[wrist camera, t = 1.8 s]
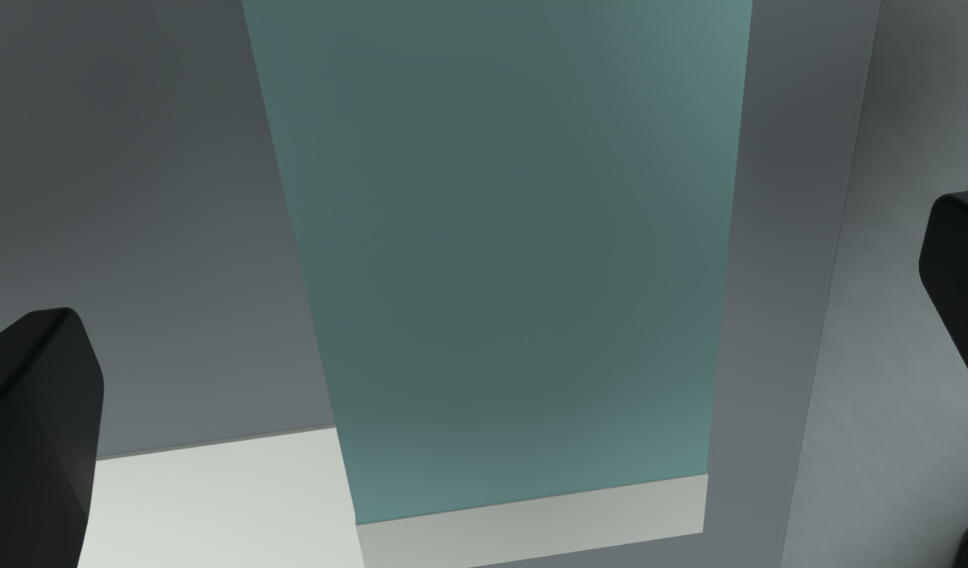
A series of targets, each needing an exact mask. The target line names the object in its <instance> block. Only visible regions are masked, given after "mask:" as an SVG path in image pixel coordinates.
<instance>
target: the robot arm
mask: <svg viewBox="0 0 968 568" xmlns="http://www.w3.org/2000/svg"><path fill="white" fill-rule="evenodd" d="M919 273H920V277H921V281H922V283H923V285H924V287H925V289H926V291H927V293H928V295H929V297H930V299H931V300H932V302H933V304H934V306H935V308H936V310H937V312H938V314H939V315H940V317H941V319H942V321H943V323H944V325H945V327H946V329H947V331H948V332H949V334H950V336H951V338H952V340H953V342H954V344H955V346H956V347H957V349H958V351H959V353H960V355H961V357H962V359H963V361H964V363H965V364H966V366H967V368H968V191H964V192H956V193H948V194H944V195H942V196H940V197H939V198H938V199H936V201H935V202H934V204H933V206H932V209H931V212H930V216H929V220H928V225H927V229H926V233H925V237H924V241H923V245H922V249H921V254H920V258H919ZM103 399H104V378H103V374H102V370H101V367H100V365H99V362H98V360H97V357H96V355H95V352H94V350H93V347H92V345H91V342H90V340H89V337H88V335H87V332H86V330H85V327H84V325H83V322H82V320H81V318H80V316H79V315H78V314H77V312H76V311H75V310H73V309H72V308H69V307H60V308H52V309H44V310H36V311H32V312H29V313H27V314H25V315H24V316H22V317H21V318H20V319H18V320H17V321H15V322H14V323H13V324H11V325H10V326H8V327H7V328H6V329H4V330H3V331H1V332H0V568H77V567H78V563H79V559H80V555H81V551H82V547H83V543H84V538H85V534H86V529H87V525H88V520H89V513H90V507H91V500H92V492H93V484H94V475H95V467H96V458H97V450H98V441H99V433H100V425H101V416H102V408H103ZM958 568H968V543H967V545H966V548H965V551H964V553H963V556H962V559H961V562H960V565H959V567H958Z"/></svg>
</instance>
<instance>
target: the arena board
mask: <svg viewBox="0 0 968 568" xmlns="http://www.w3.org/2000/svg"><path fill="white" fill-rule="evenodd" d="M880 6H881V0H753V1H752V11H751V21H750V32H749V42H748V52H747V62H746V72H745V83H744V93H743V103H742V113H741V123H740V134H739V144H738V154H737V164H736V174H735V185H734V195H733V205H732V215H731V225H730V235H729V246H728V256H727V266H726V276H725V286H724V297H723V307H722V317H721V327H720V337H719V348H718V358H717V368H716V378H715V388H714V399H713V409H712V419H711V429H710V439H709V449H708V460H707V472H708V484H707V494H706V504H705V514H704V524H703V532H702V533H695V534H689V535H682V536H675V537H669V538H662V539H656V540H649V541H642V542H636V543H629V544H623V545H616V546H609V547H603V548H596V549H590V550H583V551H576V552H570V553H563V554H557V555H550V556H543V557H537V558H530V559H524V560H517V561H510V562H504V563H497V564H491V565H484V566H477V567H471V568H779V565H780V560H781V554H782V549H783V543H784V538H785V532H786V527H787V521H788V516H789V510H790V504H791V499H792V493H793V488H794V482H795V477H796V471H797V466H798V460H799V455H800V449H801V444H802V438H803V432H804V427H805V421H806V416H807V410H808V405H809V399H810V394H811V388H812V383H813V377H814V372H815V366H816V360H817V355H818V349H819V344H820V338H821V333H822V327H823V322H824V316H825V311H826V305H827V300H828V294H829V288H830V283H831V277H832V272H833V266H834V261H835V255H836V250H837V244H838V239H839V233H840V227H841V222H842V216H843V211H844V205H845V200H846V194H847V189H848V183H849V178H850V172H851V167H852V161H853V155H854V150H855V144H856V139H857V133H858V128H859V122H860V117H861V111H862V106H863V100H864V95H865V89H866V83H867V78H868V72H869V67H870V61H871V56H872V50H873V45H874V39H875V34H876V28H877V23H878V17H879V11H880ZM60 307H69V308H72V309H73V310H75V311H76V312H77V314H78V315H79V316H80V318H81V320H82V322H83V325H84V327H85V330H86V332H87V335H88V337H89V340H90V342H91V345H92V347H93V350H94V352H95V355H96V357H97V360H98V362H99V365H100V367H101V370H102V374H103V378H104V399H103V408H102V416H101V425H100V433H99V441H98V450H97V458H96V467H95V475H94V484H93V492H92V500H91V507H90V513H89V520H88V525H87V529H86V534H85V538H84V543H83V547H82V551H81V555H80V559H79V563H78V567H77V568H365V566H364V562H363V557H362V553H361V548H360V544H359V539H358V535H357V530H356V524H355V512H354V507H353V503H352V498H351V494H350V489H349V485H348V480H347V475H346V471H345V466H344V462H343V457H342V453H341V448H340V444H339V439H338V435H337V430H336V426H335V421H334V417H333V412H332V408H331V403H330V399H329V394H328V390H327V385H326V381H325V376H324V372H323V367H322V363H321V358H320V354H319V349H318V344H317V340H316V335H315V331H314V326H313V322H312V317H311V313H310V308H309V304H308V299H307V295H306V290H305V286H304V281H303V277H302V272H301V268H300V263H299V259H298V254H297V250H296V245H295V241H294V236H293V232H292V227H291V223H290V218H289V214H288V209H287V204H286V200H285V195H284V191H283V186H282V182H281V177H280V173H279V168H278V164H277V159H276V155H275V150H274V146H273V141H272V137H271V132H270V128H269V123H268V119H267V114H266V110H265V105H264V101H263V96H262V92H261V87H260V83H259V78H258V73H257V69H256V64H255V60H254V55H253V51H252V46H251V42H250V37H249V33H248V28H247V24H246V19H245V15H244V10H243V6H242V1H241V0H0V332H1V331H3V330H4V329H6V328H7V327H8V326H10V325H11V324H13V323H14V322H15V321H17V320H18V319H20V318H21V317H22V316H24V315H25V314H27V313H29V312H32V311H36V310H44V309H52V308H60Z"/></svg>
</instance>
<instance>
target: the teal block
mask: <svg viewBox="0 0 968 568" xmlns="http://www.w3.org/2000/svg"><path fill="white" fill-rule="evenodd" d="M241 1H242V6H243V10H244V15H245V19H246V24H247V28H248V33H249V37H250V42H251V46H252V51H253V55H254V60H255V64H256V69H257V73H258V78H259V83H260V87H261V92H262V96H263V101H264V105H265V110H266V114H267V119H268V123H269V128H270V132H271V137H272V141H273V146H274V150H275V155H276V159H277V164H278V168H279V173H280V177H281V182H282V186H283V191H284V195H285V200H286V204H287V209H288V214H289V218H290V223H291V227H292V232H293V236H294V241H295V245H296V250H297V254H298V259H299V263H300V268H301V272H302V277H303V281H304V286H305V290H306V295H307V299H308V304H309V308H310V313H311V317H312V322H313V326H314V331H315V335H316V340H317V344H318V349H319V354H320V358H321V363H322V367H323V372H324V376H325V381H326V385H327V390H328V394H329V399H330V403H331V408H332V412H333V417H334V421H335V426H336V430H337V435H338V439H339V444H340V448H341V453H342V457H343V462H344V466H345V471H346V475H347V480H348V485H349V489H350V494H351V498H352V503H353V507H354V512H355V524H356V530H357V535H358V539H359V544H360V548H361V553H362V557H363V562H364V566H365V568H471V567H477V566H484V565H491V564H497V563H504V562H510V561H517V560H524V559H530V558H537V557H543V556H550V555H557V554H563V553H570V552H576V551H583V550H590V549H596V548H603V547H609V546H616V545H623V544H629V543H636V542H642V541H649V540H656V539H662V538H669V537H675V536H682V535H689V534H695V533H702V532H703V524H704V514H705V504H706V494H707V484H708V472H707V460H708V449H709V439H710V429H711V419H712V409H713V399H714V388H715V378H716V368H717V358H718V348H719V337H720V327H721V317H722V307H723V297H724V286H725V276H726V266H727V256H728V246H729V235H730V225H731V215H732V205H733V195H734V185H735V174H736V164H737V154H738V144H739V134H740V123H741V113H742V103H743V93H744V83H745V72H746V62H747V52H748V42H749V32H750V21H751V11H752V1H753V0H241Z"/></svg>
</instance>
